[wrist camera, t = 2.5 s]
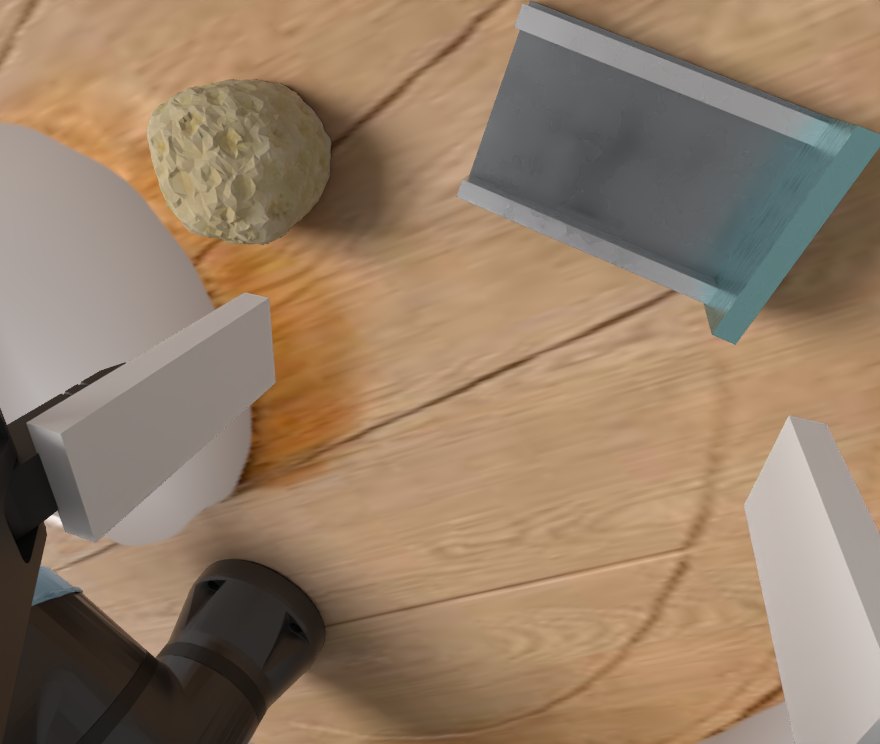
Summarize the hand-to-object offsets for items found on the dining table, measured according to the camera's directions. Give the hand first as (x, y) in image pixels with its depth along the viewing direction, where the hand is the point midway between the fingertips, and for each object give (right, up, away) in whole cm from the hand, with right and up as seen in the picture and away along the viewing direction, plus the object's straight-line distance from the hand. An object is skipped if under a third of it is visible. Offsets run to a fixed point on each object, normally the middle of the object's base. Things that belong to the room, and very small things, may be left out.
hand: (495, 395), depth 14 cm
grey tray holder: (+9, +12, +16) cm, 22 cm away
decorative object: (-12, +15, +22) cm, 29 cm away
